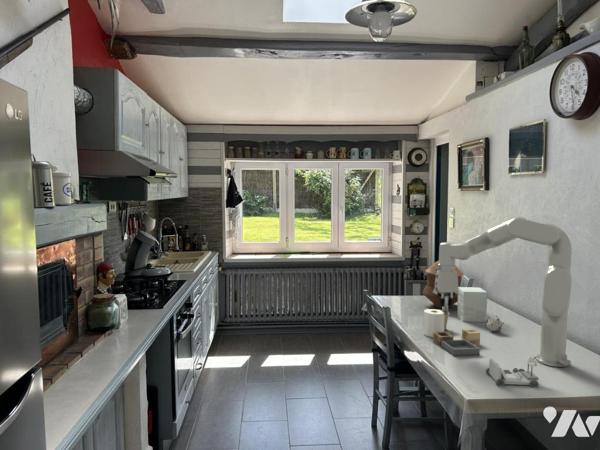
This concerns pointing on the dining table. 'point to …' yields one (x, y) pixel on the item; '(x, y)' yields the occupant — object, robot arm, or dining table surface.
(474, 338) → the oak block
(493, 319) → the game die
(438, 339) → the square wooden socket
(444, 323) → the flower pot
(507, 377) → the toy car
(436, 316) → the toilet paper
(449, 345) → the tray
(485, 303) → the supplement box
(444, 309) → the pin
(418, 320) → the dining table surface
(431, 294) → the pottery vessel
